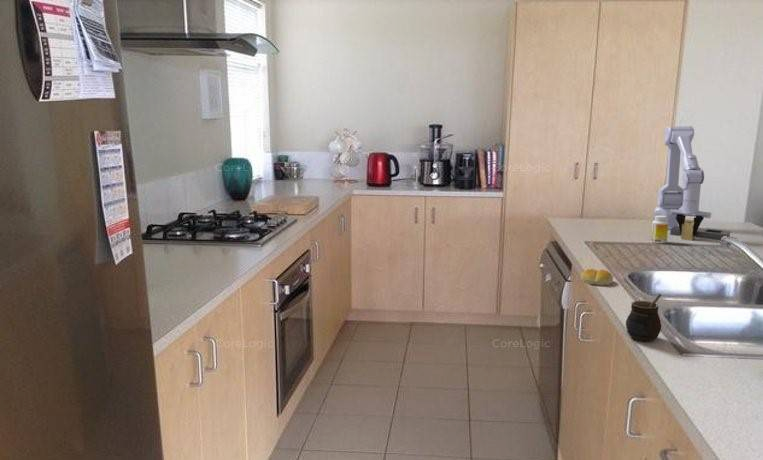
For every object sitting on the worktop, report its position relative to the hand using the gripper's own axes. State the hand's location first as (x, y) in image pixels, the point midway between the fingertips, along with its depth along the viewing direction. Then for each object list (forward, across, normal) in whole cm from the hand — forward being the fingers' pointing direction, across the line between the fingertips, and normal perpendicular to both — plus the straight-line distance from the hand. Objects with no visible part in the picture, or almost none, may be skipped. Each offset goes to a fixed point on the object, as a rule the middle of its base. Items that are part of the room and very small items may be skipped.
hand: (688, 234), depth 235 cm
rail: (+2, +2, +9) cm, 9 cm away
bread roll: (+2, -4, -82) cm, 82 cm away
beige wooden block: (+2, -3, +9) cm, 10 cm away
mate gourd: (+2, +22, -120) cm, 121 cm away
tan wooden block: (+2, 0, 0) cm, 2 cm away
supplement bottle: (+2, -7, -13) cm, 15 cm away
